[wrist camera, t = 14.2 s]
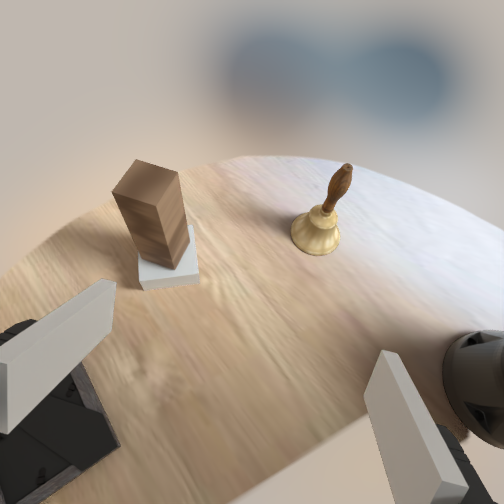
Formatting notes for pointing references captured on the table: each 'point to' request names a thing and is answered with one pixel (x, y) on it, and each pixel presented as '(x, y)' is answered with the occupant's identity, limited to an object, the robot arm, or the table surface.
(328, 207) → the hand bell
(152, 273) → the white block
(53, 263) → the table surface
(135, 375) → the table surface
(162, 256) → the walnut block
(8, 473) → the picture frame
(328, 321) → the table surface
